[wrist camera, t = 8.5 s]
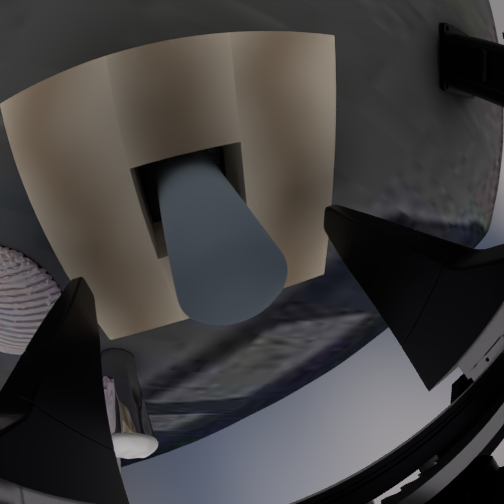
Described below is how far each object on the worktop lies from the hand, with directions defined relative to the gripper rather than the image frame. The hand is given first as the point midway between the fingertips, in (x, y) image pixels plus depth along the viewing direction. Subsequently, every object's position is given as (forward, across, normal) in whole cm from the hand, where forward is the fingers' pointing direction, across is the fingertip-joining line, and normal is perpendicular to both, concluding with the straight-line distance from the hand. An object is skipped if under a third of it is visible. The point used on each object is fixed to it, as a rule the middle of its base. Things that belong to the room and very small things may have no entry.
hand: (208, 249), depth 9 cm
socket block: (+7, 0, 0) cm, 7 cm away
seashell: (+7, +15, +5) cm, 17 cm away
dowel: (+7, 0, 0) cm, 7 cm away
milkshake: (+7, +10, +14) cm, 18 cm away
